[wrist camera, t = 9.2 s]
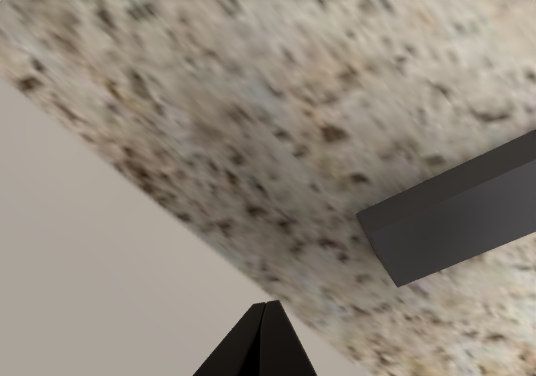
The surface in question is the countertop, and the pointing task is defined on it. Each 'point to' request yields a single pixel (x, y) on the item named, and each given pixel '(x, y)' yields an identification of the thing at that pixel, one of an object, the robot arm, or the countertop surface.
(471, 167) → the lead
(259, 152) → the countertop surface
